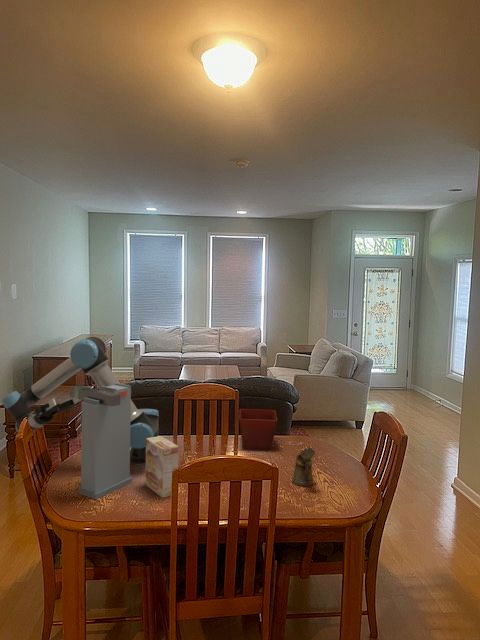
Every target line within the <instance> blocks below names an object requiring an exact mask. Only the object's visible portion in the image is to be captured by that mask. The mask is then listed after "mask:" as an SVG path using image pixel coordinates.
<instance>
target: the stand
mask: <svg viewBox="0 0 480 640" xmlns="http://www.w3.org/2000/svg"><path fill="white" fill-rule="evenodd" d="M99 390H102V391H107V392H112V393H117V394H120V405H117V406H113V407H112V406H107V405H103V404H100V401H99V400H95V399H90V398H86V397H85V398H83V400H82V402H81V438H80V439H81V442H80V443H81V444H80V445H81V448H80V450H81V451H80V452H81V453H80V456H81V457H80V458H81V461H80V463H81V464H80V469H81V470H80V473H81V474H80V479H81V480H80V487H78V488H77V489H78V490H77V491H78V494H80V495H83V496H86V497H88V498H90V499H94V500H98V499H100V498H103V497H104V496H107V495H109V494H111V493H113V492H115V491H117V490H119V489H122V488H124V487H126V486H127V485H131V484H132V483H133V477H131V472H130V471H131V469H130V468H131V467H130V466H131V465H130V464H131V460H130V450H131V446H130V417H131V400H132V399H131V398H132V386H131V385H130V384H124V383H120V384H119V383H115V385H112V386H107V387H105V386H101V388H100V389H99Z"/></svg>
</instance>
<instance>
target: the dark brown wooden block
mask: <svg viewBox="0 0 480 640" xmlns="http://www.w3.org/2000/svg"><path fill="white" fill-rule="evenodd" d="M85 397H86V398H90V399H95V400H99V401H100V404H103V405H107V406H112V407H113V406H117V405H120V394H117V393H112V392H107V391H102V390H100V389H96V388H92V387H88V386H85V385H74V386H71V387H69V398H71V399H72V398H76V399H81V401H83V398H85Z"/></svg>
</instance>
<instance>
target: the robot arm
mask: <svg viewBox="0 0 480 640" xmlns="http://www.w3.org/2000/svg"><path fill="white" fill-rule="evenodd" d="M106 352H107V347H106V344H105V342H104V341H103V340H102V339H100V338H99V337H97V336H90V337H86V338H83V339H80V340H78V341H77V342H76V343H75V344H74V345H73V346H72V347H71V349H70V357H68V358H67V359H65V360H64V361H62V363H60V364H59V365H57V366H56V367H55V368H54V369H52V370H51V371H50V372H48V373H47V374H46V375H44V376H43V377H42V378H40V379H39V380H38V381H36V382H35V383H33V384H32V385H31V386H29V387H28V388H26V390H24V391H23V392H21V393H19V392H18V391H17V390H14V391H12V392H11V393H9V394H7V395H6V396H4V397H3V398H2V399H1V403H2V405H3V406H4V408H5V409H6V410H7V412H8V413H9V415H10V416H11V418H12V419H13V420H14V422H15V432H16V433H17V432H18V429H19V426H20V424H21V422H22V421H23V419H24V418H25V417H27V418H26V419H27V420H28V423H29V426H30V427H31V429H32V430H33V431H34V432H36V431H37V430H39V429H42V427H43V426H44V425H47V424H49V422H51V421H52V420H53V419H54V416H55V415H57V414H58V413H63V412H64V411H66V410H68V409H70V408H72V407H74V406H77V405H80V402H81V401H82V400H81V399H76V398H72V397H71V399H69V400H66V401H64V402H62V403H57V402H56V399H55V398H54V397H53V398H51V399H50V400H48V401H47V402H46V403H44V404H43V405H42V404H41V405H40V406H35V408H34V410H31V407H32V406H34V405H36V404H37V403H39V401H41V400H42V399H43V398H44V397H46V396H47V395H49V394H50V393H51V392H53V391H54V390H55V389H57V388H58V387H59V386H60V385H62V384H63V383H64V382H66V381H67V380H68V379H71V377H73V376H75V374H77V373H78V372H80V371H82V373H84V375H86V376H89V377H91V378H92V380H93V382H94V383H95V384H96V386H97V388H98V390H100V388H101V386H105V387H107V386H112V385H115V383H119V384H121V382H120V380H119V379H118V377H117V376H116V375H115V373H114V372H113V370H112V369H111V367H110V366H109V358H108V357H107V355H106ZM159 419H160V415H159V410H158V409H153V408H139V409H138V408H137V406H136V405H135V403H134V402H133V400H132V399H131V417H130V462H134V463H137V464H146V438H150V437H157V436H159V423H160V422H159Z"/></svg>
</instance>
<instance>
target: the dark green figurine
mask: <svg viewBox="0 0 480 640" xmlns="http://www.w3.org/2000/svg"><path fill="white" fill-rule="evenodd" d="M314 456H315V450H314V449H312V448H309V447H307V448H305V449H303V450H301V451H300V453H299V454H297V455H296V458H295V466H294V471H293V476H292V479H291V482H292V483H293V484H294V485H295V486H298V487H310V486H312V485H313V484H314V478H313V469H312V466H313V461H312V458H313V457H314Z"/></svg>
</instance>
